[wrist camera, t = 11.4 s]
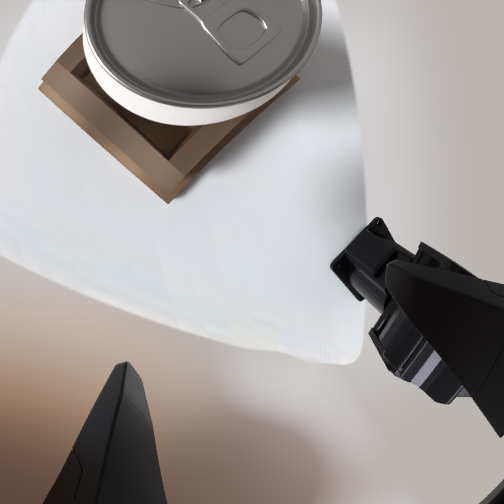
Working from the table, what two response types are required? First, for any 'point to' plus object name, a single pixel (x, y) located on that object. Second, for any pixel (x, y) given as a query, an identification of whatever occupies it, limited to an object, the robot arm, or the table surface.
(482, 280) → the robot arm
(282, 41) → the can
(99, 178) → the table surface
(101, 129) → the socket
